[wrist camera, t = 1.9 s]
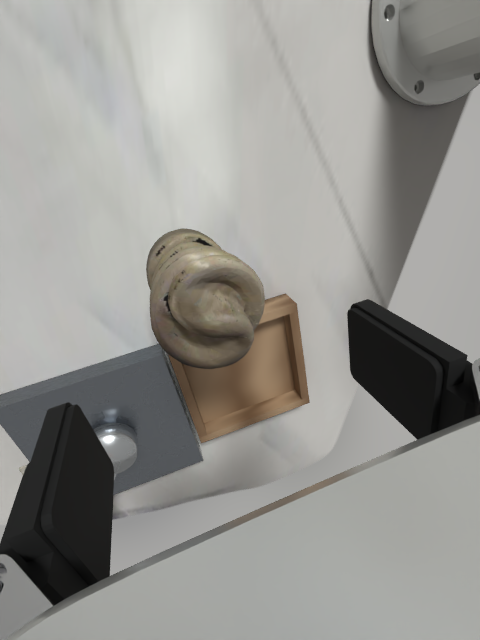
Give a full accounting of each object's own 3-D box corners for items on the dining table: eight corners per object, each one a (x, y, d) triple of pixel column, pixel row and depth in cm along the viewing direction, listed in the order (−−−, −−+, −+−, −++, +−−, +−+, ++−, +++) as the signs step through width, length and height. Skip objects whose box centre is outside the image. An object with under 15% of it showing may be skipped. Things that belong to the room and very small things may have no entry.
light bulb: (145, 205, 25) (158, 257, 12) (215, 216, 27) (293, 271, 14) (140, 277, 27) (147, 386, 14) (206, 282, 29) (265, 384, 16)
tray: (285, 293, 32) (296, 303, 29) (299, 388, 37) (309, 402, 35) (162, 332, 30) (164, 346, 28) (197, 425, 36) (201, 443, 33)
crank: (92, 420, 29) (78, 503, 22) (142, 425, 31) (145, 505, 24) (64, 509, 32) (45, 606, 25) (111, 510, 34) (105, 600, 27)
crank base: (160, 343, 30) (162, 355, 28) (199, 446, 37) (203, 461, 35) (-14, 399, 28) (-25, 416, 26) (62, 498, 35) (58, 517, 33)
